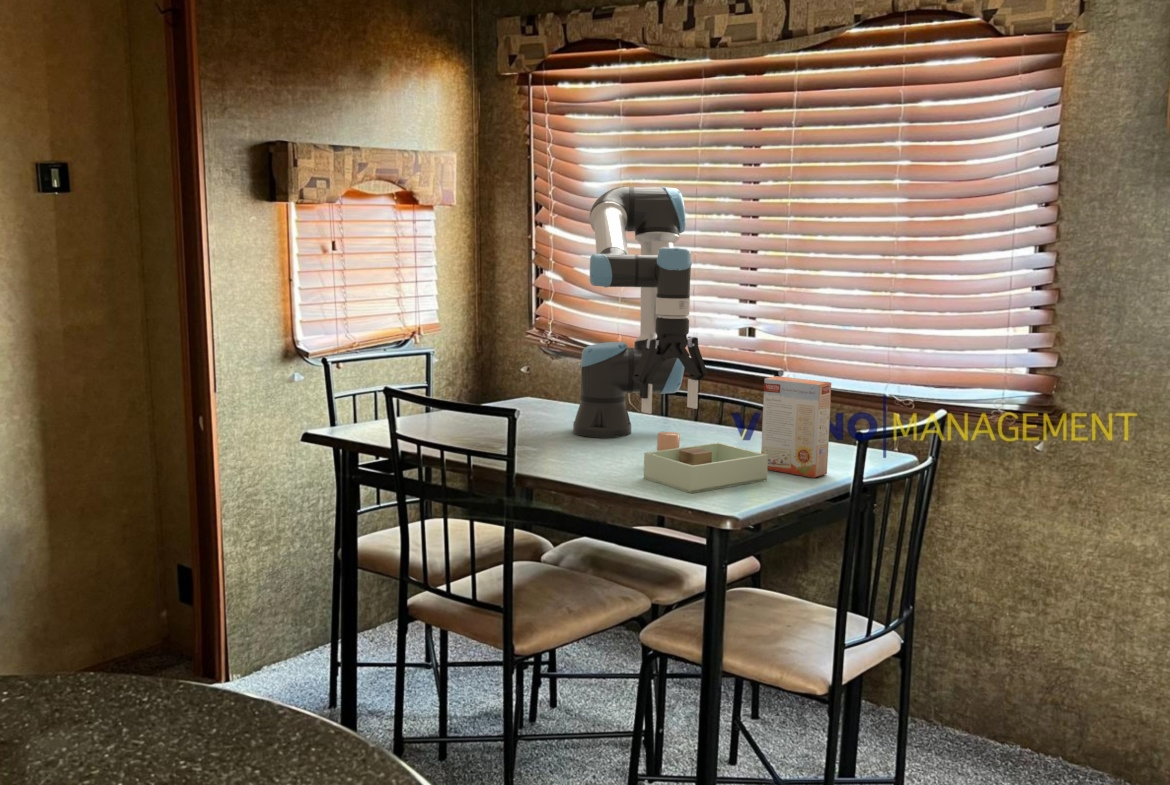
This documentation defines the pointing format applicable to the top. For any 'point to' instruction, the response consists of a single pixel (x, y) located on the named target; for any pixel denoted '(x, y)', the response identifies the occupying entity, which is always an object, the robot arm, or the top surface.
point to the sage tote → (706, 468)
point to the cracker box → (796, 425)
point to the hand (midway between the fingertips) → (669, 410)
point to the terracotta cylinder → (668, 440)
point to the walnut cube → (695, 456)
